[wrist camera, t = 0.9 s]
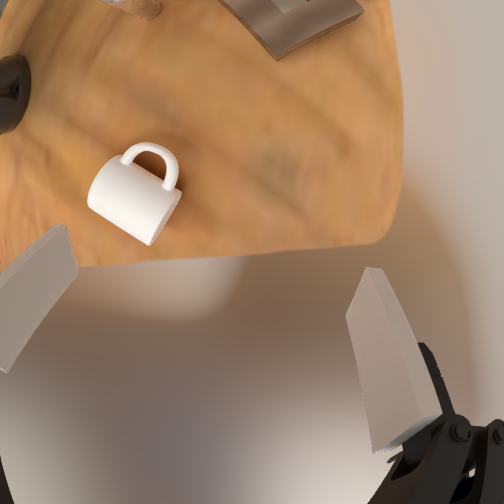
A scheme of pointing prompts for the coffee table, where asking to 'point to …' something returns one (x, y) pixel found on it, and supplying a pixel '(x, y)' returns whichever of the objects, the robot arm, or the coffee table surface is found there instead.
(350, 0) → the bore block
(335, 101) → the coffee table surface
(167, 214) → the mug
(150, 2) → the pin
